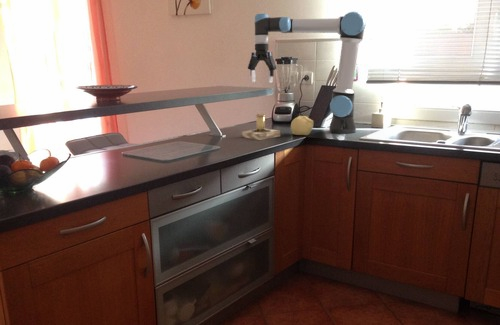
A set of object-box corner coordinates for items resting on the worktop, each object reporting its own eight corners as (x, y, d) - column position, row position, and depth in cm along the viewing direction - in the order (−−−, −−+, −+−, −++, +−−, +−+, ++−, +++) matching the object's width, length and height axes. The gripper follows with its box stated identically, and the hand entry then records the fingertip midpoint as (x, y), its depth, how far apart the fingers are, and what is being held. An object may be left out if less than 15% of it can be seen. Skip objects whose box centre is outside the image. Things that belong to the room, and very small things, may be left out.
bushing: (267, 136, 244) (267, 114, 241) (260, 137, 240) (260, 115, 238) (260, 135, 247) (260, 114, 244) (254, 136, 244) (254, 114, 241)
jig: (280, 136, 244) (280, 130, 243) (259, 140, 233) (259, 133, 233) (262, 133, 254) (262, 127, 253) (241, 136, 243) (241, 131, 242)
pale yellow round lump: (316, 135, 245) (316, 116, 242) (297, 137, 240) (298, 117, 237) (305, 132, 255) (305, 113, 252) (287, 134, 250) (287, 115, 247)
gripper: (283, 42, 239) (282, 82, 244) (250, 44, 256) (251, 81, 261) (273, 42, 234) (273, 83, 239) (241, 43, 251) (241, 81, 256)
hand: (261, 82), depth 250 cm, fingers open, 13 cm apart
